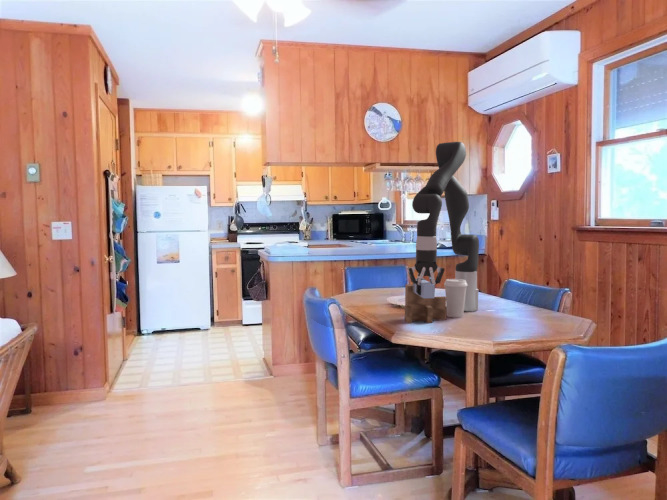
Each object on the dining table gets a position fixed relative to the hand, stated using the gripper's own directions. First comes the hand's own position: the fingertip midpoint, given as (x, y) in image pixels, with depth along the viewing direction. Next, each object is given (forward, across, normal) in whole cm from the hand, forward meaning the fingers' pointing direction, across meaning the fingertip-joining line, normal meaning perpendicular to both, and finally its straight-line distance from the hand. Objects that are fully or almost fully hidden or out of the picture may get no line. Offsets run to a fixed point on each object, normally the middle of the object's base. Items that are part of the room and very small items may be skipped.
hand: (425, 294), depth 184 cm
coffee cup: (+12, +18, +20) cm, 30 cm away
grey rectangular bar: (+1, 0, +3) cm, 3 cm away
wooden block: (+12, +4, +12) cm, 18 cm away
